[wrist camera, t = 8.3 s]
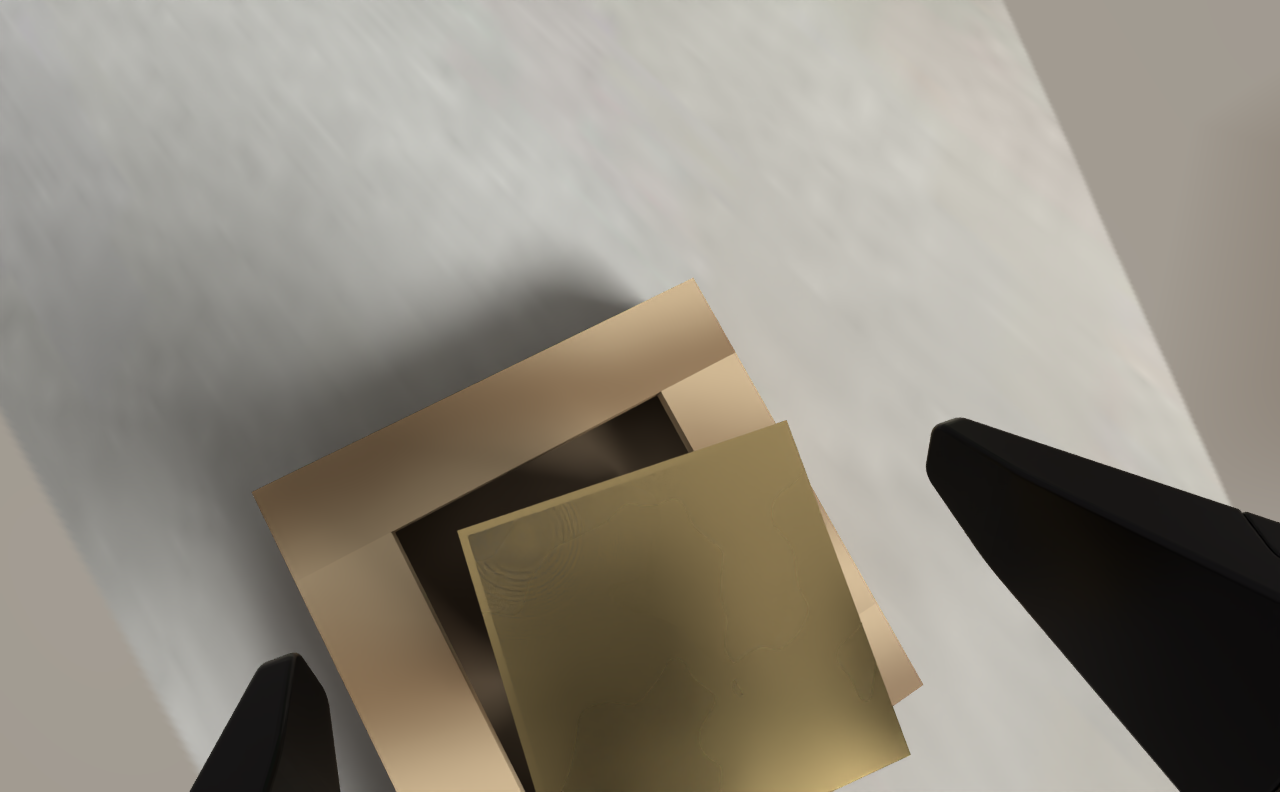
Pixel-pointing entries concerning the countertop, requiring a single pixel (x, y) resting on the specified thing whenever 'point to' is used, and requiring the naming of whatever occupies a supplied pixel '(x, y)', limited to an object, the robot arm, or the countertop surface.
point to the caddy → (489, 488)
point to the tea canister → (684, 631)
